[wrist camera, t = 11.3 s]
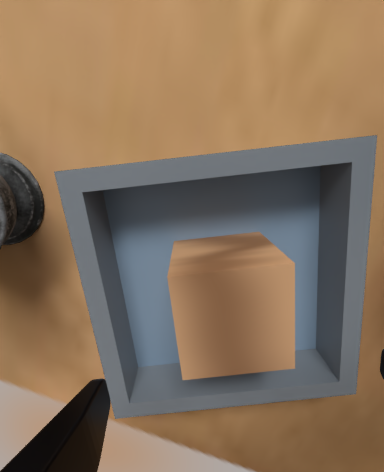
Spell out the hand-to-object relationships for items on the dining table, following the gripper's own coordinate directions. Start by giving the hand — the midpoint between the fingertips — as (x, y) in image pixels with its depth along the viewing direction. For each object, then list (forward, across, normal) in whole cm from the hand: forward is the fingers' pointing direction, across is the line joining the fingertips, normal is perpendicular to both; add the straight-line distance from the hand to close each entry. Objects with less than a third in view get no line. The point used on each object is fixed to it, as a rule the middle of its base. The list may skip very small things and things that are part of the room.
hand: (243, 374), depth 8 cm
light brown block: (+7, 0, 0) cm, 7 cm away
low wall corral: (+8, 0, 0) cm, 8 cm away
